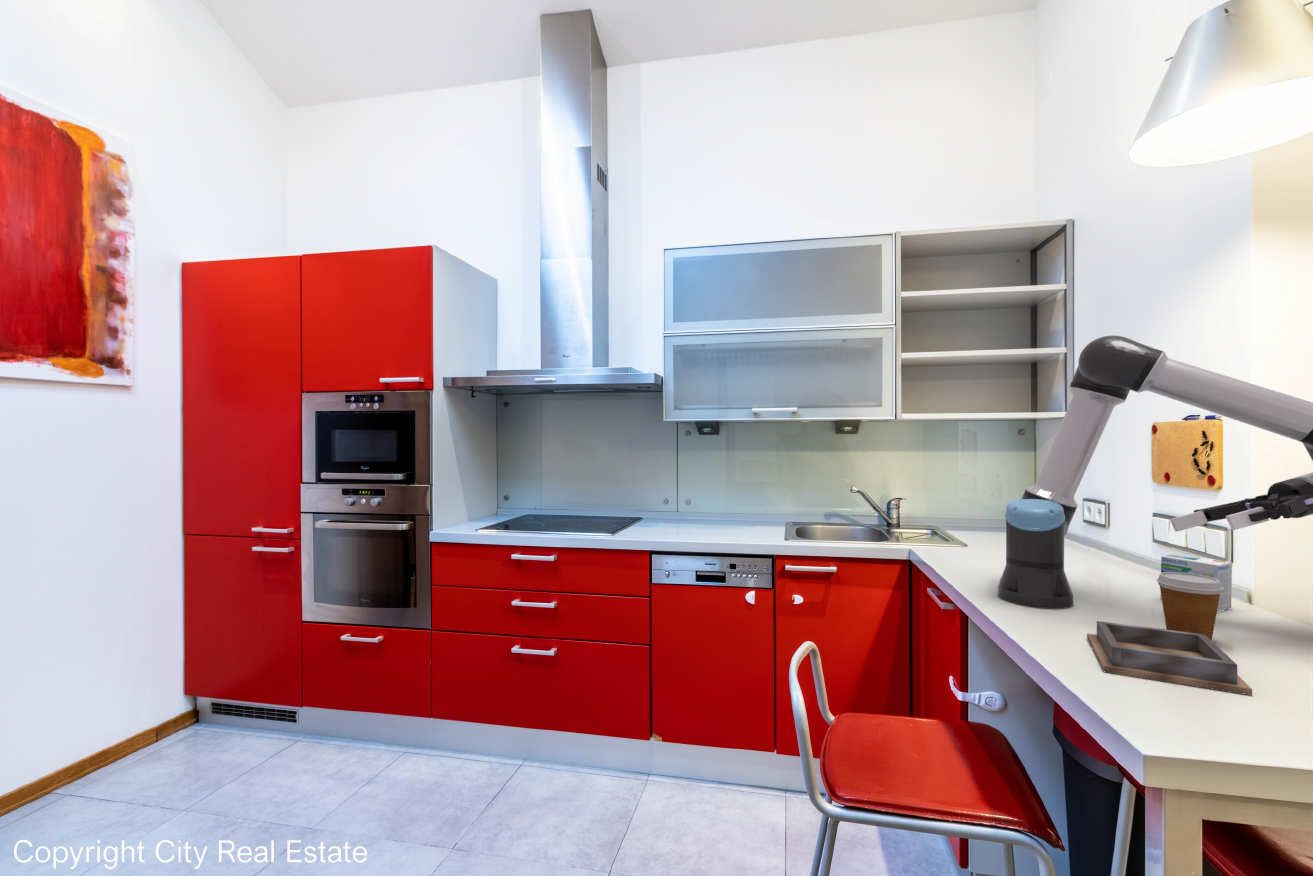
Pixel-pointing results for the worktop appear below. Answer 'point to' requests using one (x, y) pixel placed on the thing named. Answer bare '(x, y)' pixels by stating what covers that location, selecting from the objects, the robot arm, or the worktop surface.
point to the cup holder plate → (1165, 656)
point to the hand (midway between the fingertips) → (1200, 524)
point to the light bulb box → (1203, 572)
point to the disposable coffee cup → (1190, 602)
